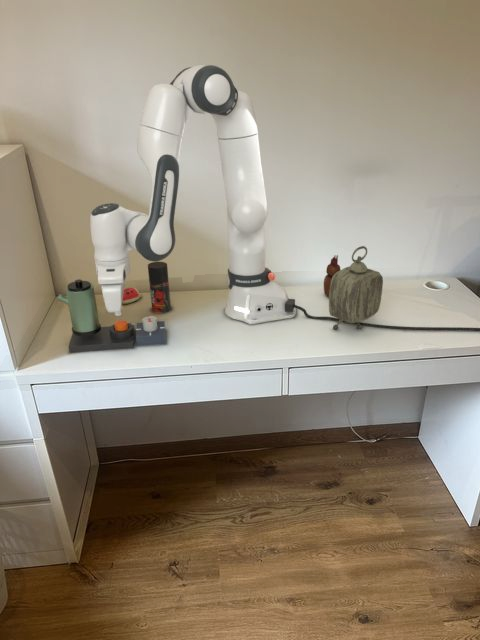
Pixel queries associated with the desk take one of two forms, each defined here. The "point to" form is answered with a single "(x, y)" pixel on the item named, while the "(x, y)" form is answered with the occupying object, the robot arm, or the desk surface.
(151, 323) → the temp dial
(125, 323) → the power button
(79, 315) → the kettle
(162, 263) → the deodorant
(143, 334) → the control pad
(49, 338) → the desk surface
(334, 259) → the wooden figurine
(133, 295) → the ladybug figurine
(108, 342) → the kettle base
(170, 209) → the robot arm
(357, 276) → the tabletop clock
